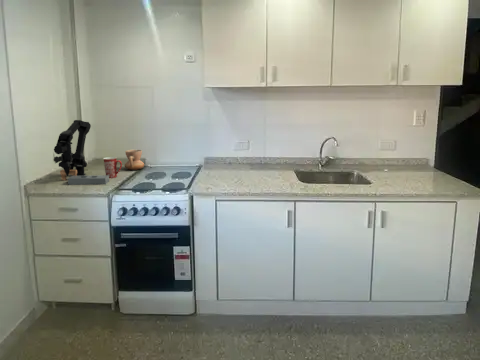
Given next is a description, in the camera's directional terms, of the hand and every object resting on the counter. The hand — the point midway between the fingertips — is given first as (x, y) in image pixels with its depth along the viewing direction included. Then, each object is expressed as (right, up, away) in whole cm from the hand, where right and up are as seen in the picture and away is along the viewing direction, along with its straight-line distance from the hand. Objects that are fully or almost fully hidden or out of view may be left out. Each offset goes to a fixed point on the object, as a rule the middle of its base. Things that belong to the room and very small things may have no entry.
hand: (69, 174), depth 301 cm
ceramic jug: (+36, +4, +35) cm, 50 cm away
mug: (+28, -2, +9) cm, 29 cm away
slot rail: (+16, -6, -8) cm, 19 cm away
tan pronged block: (0, -3, +1) cm, 4 cm away
